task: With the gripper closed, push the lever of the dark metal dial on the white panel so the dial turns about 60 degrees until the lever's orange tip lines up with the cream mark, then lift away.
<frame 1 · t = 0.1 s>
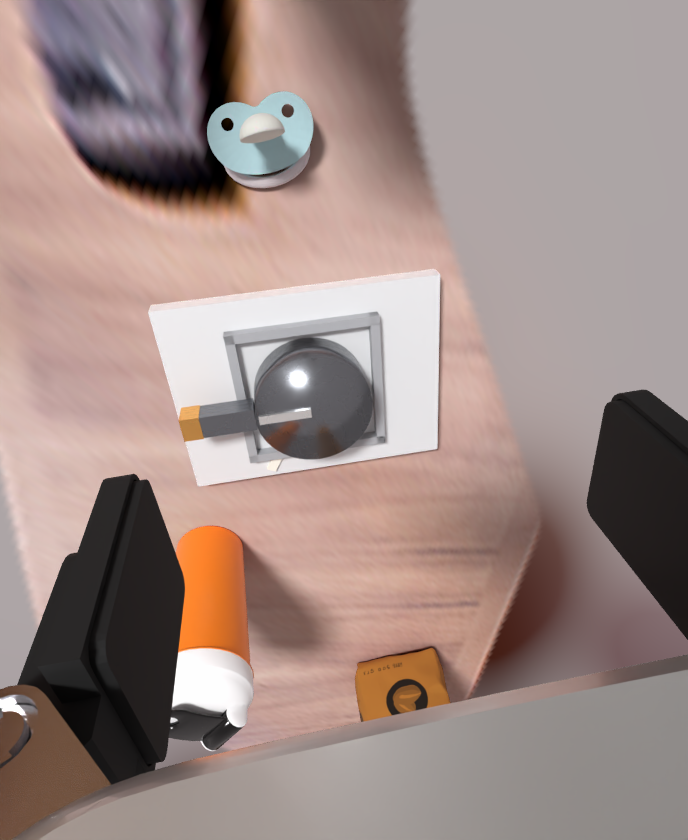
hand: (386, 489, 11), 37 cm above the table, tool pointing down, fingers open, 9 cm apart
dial: (277, 405, 48), point 4 cm above the table, hinge at 0.0°
shaker bottle: (210, 548, 61), on the table
panel: (308, 380, 51), on the table
pacifier: (263, 142, 41), on the table
coffee package: (395, 665, 77), on the table
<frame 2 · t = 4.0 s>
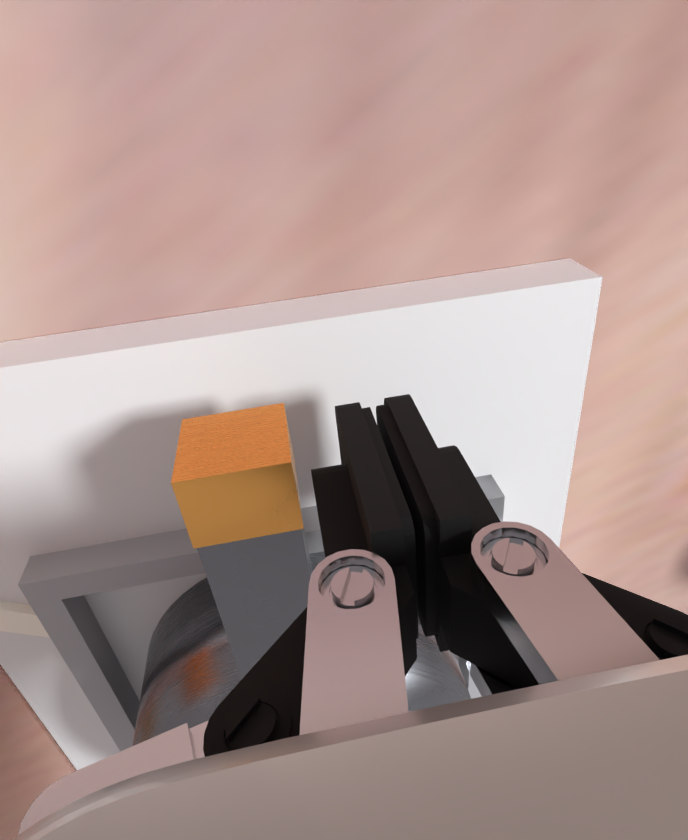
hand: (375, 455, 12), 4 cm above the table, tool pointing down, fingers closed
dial: (291, 655, 16), point 4 cm above the table, hinge at 0.1°, touching gripper
panel: (296, 616, 20), on the table
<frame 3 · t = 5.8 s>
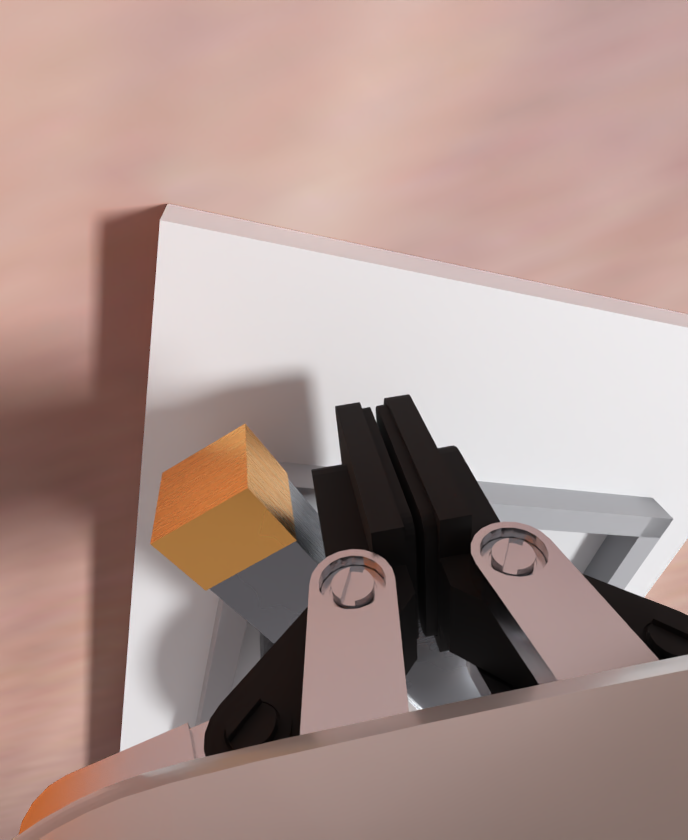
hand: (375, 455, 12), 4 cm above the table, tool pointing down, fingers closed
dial: (379, 639, 16), point 4 cm above the table, hinge at 43.6°, touching gripper
panel: (394, 591, 20), on the table
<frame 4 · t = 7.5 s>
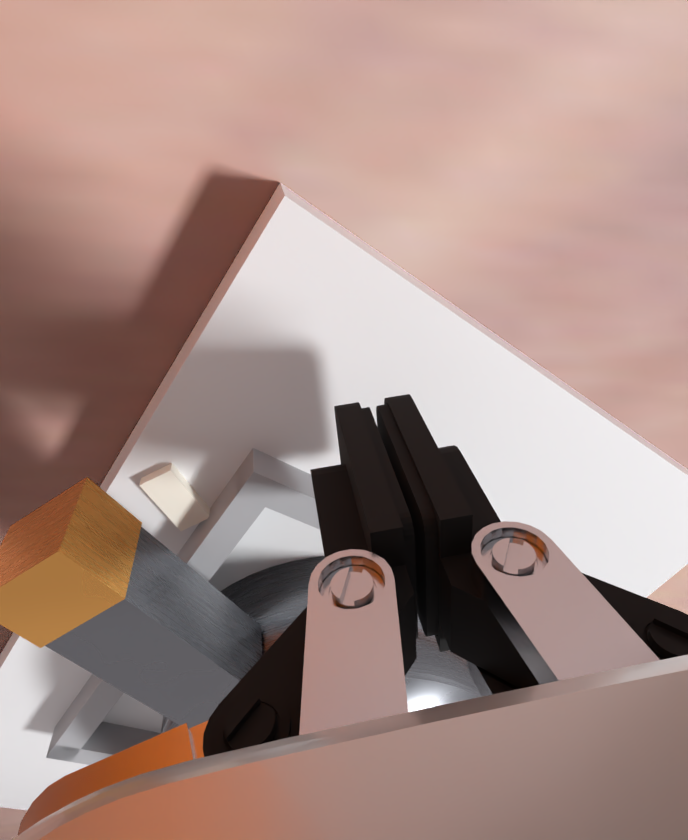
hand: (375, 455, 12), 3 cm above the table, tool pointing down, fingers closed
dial: (273, 679, 15), point 4 cm above the table, hinge at 66.5°
panel: (316, 622, 20), on the table
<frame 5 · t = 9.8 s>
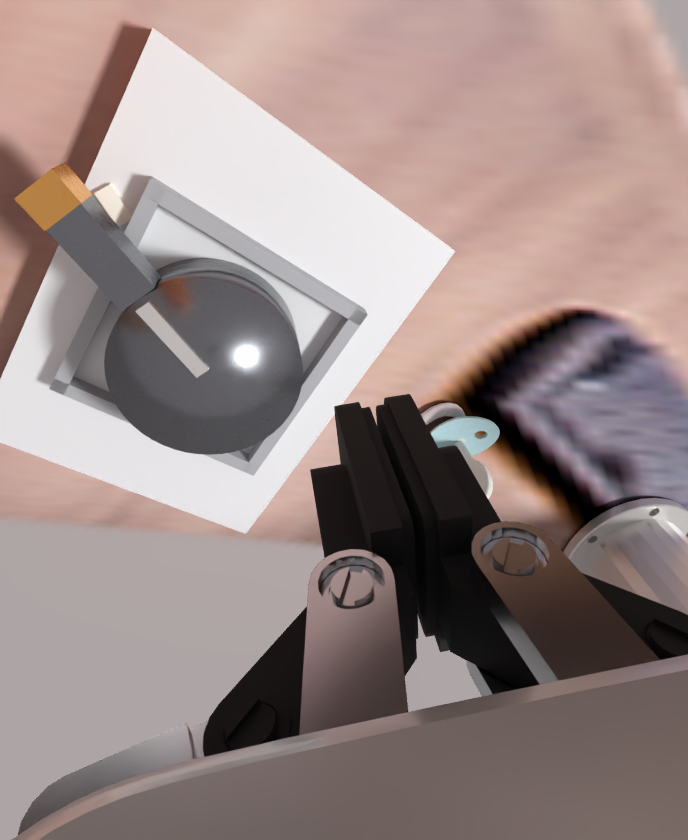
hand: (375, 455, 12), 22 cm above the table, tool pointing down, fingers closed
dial: (170, 317, 29), point 4 cm above the table, hinge at 66.5°
panel: (212, 333, 33), on the table
pacifier: (437, 437, 41), on the table
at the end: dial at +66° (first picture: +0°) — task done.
